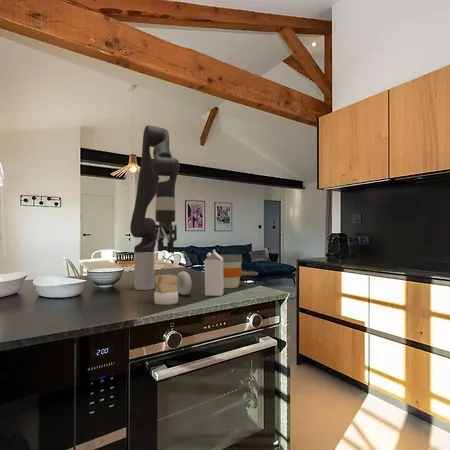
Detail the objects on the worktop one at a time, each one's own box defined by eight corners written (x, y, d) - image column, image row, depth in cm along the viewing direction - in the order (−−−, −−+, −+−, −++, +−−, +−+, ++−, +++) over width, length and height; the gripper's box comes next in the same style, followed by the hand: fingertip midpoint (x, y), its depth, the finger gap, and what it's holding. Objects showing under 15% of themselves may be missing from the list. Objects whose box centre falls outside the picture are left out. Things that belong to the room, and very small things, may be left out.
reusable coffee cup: (214, 288, 159) (214, 256, 159) (219, 284, 171) (218, 254, 172) (240, 289, 157) (240, 256, 157) (243, 284, 169) (243, 254, 170)
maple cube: (155, 291, 131) (155, 275, 131) (169, 289, 134) (169, 274, 134) (162, 293, 126) (162, 277, 126) (176, 291, 130) (176, 276, 130)
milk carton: (223, 292, 148) (223, 249, 148) (221, 296, 141) (221, 250, 141) (207, 292, 148) (207, 249, 149) (204, 296, 141) (204, 250, 142)
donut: (193, 296, 141) (193, 272, 141) (186, 297, 139) (186, 272, 139) (181, 292, 149) (180, 269, 149) (174, 293, 147) (173, 270, 147)
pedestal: (150, 301, 131) (150, 291, 131) (171, 298, 136) (171, 288, 136) (160, 305, 124) (160, 294, 124) (182, 302, 129) (182, 291, 129)
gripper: (183, 209, 127) (182, 252, 127) (166, 210, 138) (166, 250, 138) (164, 208, 122) (164, 253, 122) (148, 209, 134) (148, 251, 134)
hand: (165, 251), depth 130 cm, fingers open, 8 cm apart
